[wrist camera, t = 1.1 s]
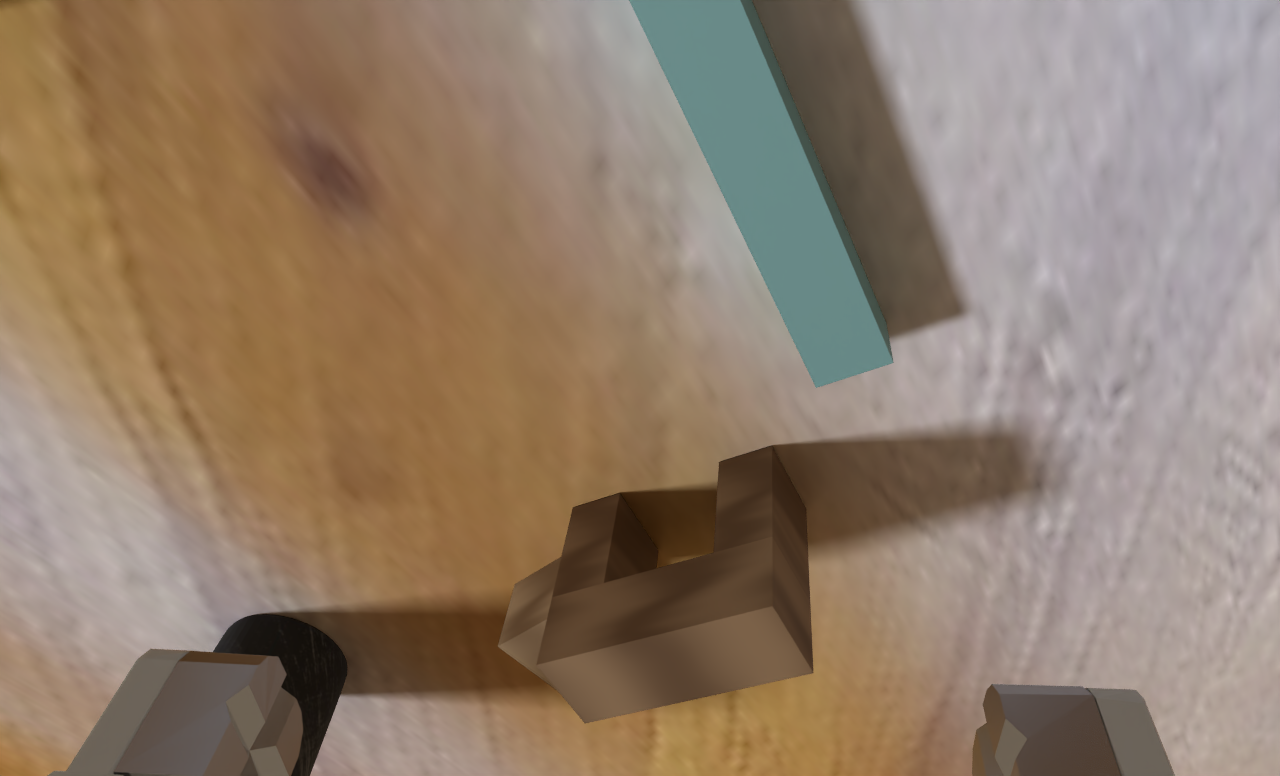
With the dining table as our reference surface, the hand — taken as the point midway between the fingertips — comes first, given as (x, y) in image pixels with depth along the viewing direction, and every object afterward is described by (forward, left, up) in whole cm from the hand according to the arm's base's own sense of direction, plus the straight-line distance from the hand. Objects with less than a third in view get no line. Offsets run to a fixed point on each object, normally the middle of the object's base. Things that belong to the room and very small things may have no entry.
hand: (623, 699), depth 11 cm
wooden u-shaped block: (+10, +19, -26) cm, 34 cm away
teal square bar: (0, +2, -26) cm, 26 cm away
